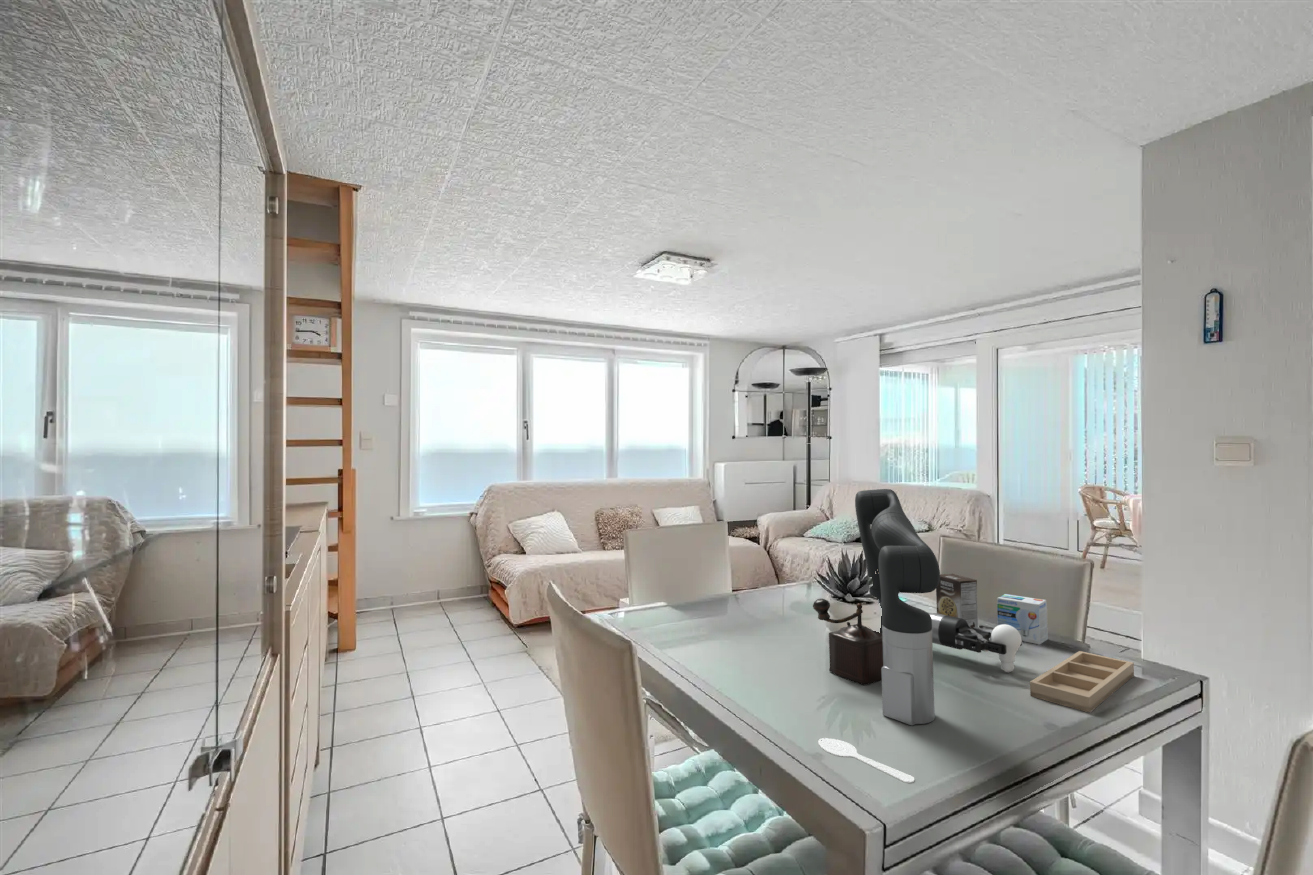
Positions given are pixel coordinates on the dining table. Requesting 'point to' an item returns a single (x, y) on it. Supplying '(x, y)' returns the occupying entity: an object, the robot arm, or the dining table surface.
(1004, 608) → the light bulb box
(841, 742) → the spoon
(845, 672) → the manual coffee grinder
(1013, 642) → the lightbulb
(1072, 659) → the wooden compartment tray
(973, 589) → the cookie box
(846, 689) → the dining table surface
